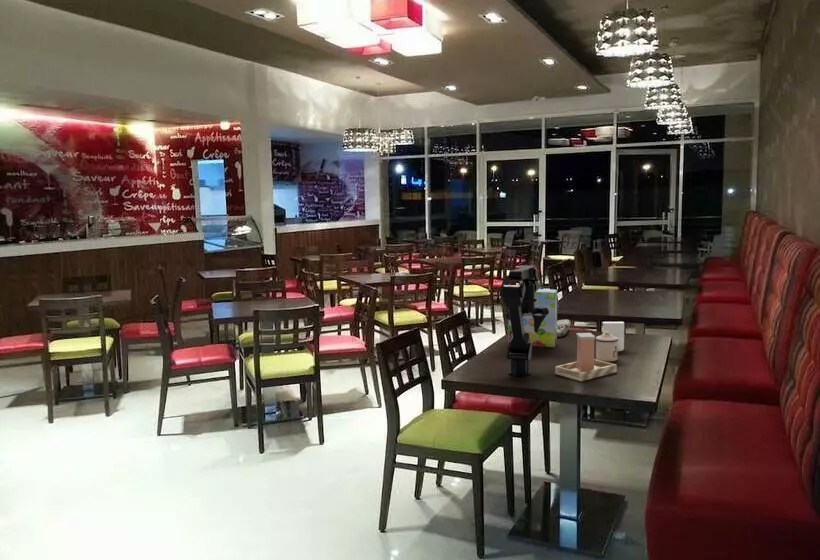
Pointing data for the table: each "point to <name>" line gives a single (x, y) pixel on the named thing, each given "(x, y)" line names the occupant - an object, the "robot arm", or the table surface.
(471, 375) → the table surface
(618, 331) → the base with upright slab
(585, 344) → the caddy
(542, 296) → the snack box
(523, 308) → the robot arm
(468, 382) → the table surface
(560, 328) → the elongated rock
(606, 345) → the teacup with lid
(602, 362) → the tray
